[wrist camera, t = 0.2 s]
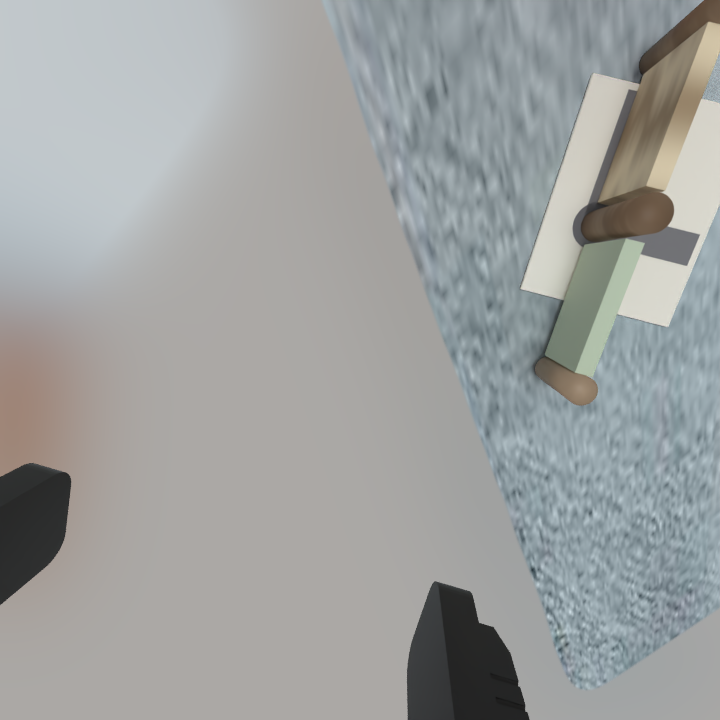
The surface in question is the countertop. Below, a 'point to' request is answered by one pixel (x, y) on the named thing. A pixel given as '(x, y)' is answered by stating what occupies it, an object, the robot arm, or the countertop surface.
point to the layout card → (580, 196)
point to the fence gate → (588, 318)
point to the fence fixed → (657, 129)
